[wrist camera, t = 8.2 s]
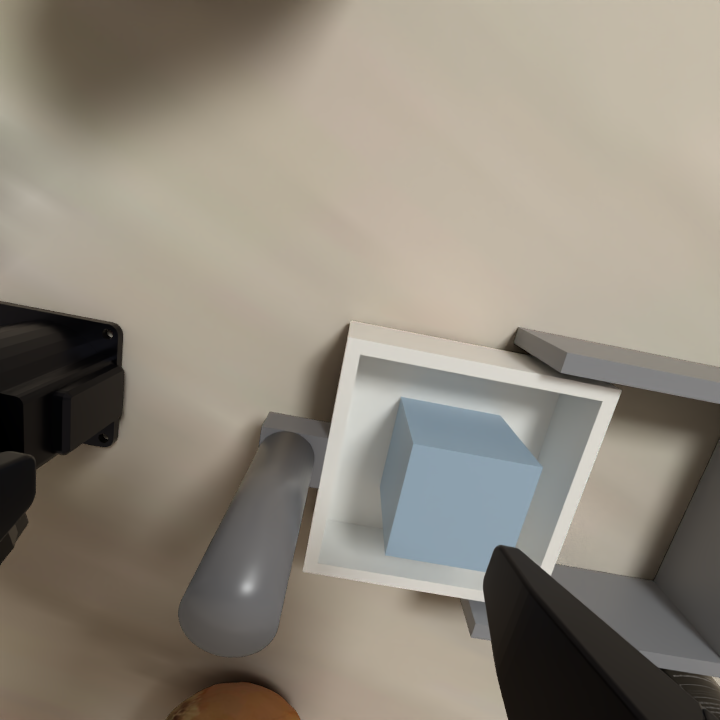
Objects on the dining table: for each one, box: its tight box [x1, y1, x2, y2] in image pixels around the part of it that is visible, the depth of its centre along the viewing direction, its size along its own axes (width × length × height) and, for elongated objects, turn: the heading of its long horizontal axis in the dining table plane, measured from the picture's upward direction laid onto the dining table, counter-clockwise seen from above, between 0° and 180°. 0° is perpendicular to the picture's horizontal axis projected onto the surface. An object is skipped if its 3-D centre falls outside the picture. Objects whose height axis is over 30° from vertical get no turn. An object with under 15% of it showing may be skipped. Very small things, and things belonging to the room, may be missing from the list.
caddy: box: [178, 320, 622, 657], centre depth 16 cm, size 14×11×12 cm
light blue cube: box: [380, 397, 543, 572], centre depth 19 cm, size 5×5×5 cm
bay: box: [460, 327, 720, 678], centre depth 20 cm, size 13×14×5 cm
